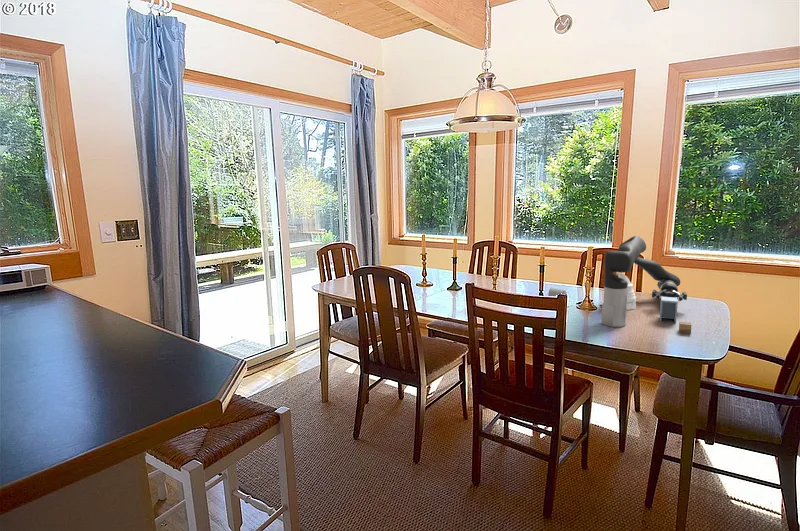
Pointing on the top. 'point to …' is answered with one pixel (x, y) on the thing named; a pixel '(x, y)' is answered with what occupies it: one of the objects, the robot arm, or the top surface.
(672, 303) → the tall pale blue box
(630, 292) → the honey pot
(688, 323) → the cube
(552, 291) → the ceramic mug
